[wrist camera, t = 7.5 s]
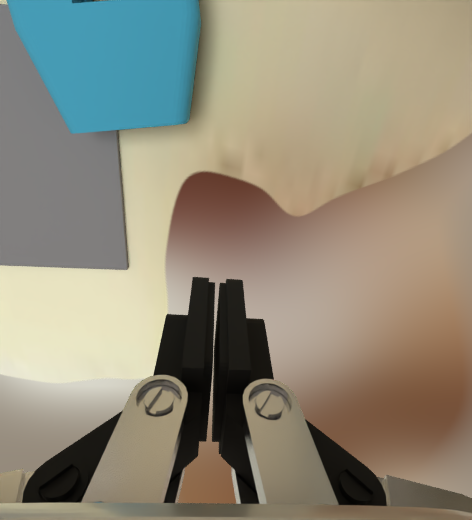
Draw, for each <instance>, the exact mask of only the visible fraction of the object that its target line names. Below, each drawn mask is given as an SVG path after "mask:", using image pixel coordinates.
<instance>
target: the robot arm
mask: <svg viewBox="0 0 472 520" xmlns="http://www.w3.org/2000/svg"><path fill="white" fill-rule="evenodd" d="M191 289H192V290H191V296H190V304H189V312H188V315H171V314H167V315H166V319H165V324H164V329H163V333H162V338H161V343H160V347H159V352H158V357H157V362H156V366H155V371H154V376H150V377H148V378H146V379H144V380H142V381H141V382H140V383H138V384H137V385H136V386H135V388H134V389H133V391H132V393H131V394H130V397H129V399H128V401H127V403H126V405H125V407H124V409H123V411H122V412H120V413H119V414H117V415H116V416H114V417H113V418H111V419H110V420H108V421H106V422H105V423H104V424H102V425H100V426H99V427H97V428H96V429H95V430H93V431H92V432H90V433H88V434H87V435H85V436H84V437H82V438H81V439H80V440H78V441H77V442H75V443H74V444H72V445H70V446H69V447H67V448H66V449H64V450H63V451H61V452H60V453H58V454H57V455H55V456H54V457H53V458H51V459H49V460H48V461H46V462H45V463H44V464H43V465H41V466H40V467H39V468H38V469H37V470H36V471H32V472H26V473H24V470H23V469H19V470H14V471H9V472H4V473H0V520H472V498H470V497H467V496H465V495H463V494H459V493H455V492H451V491H448V490H444V489H440V488H436V487H432V486H427V485H424V484H420V483H416V482H412V481H408V480H404V479H400V478H396V477H392V476H389V475H386V476H385V478H380V477H376V475H375V474H374V473H373V472H372V471H371V470H369V468H367V467H366V466H365V465H364V464H362V463H361V462H360V461H358V460H357V459H356V458H355V457H353V456H352V455H351V454H349V453H348V452H347V451H346V450H344V449H343V448H342V447H340V446H339V445H338V444H337V443H335V442H334V441H333V440H331V439H330V438H329V437H327V436H326V435H325V434H324V433H322V432H321V431H320V430H318V429H317V428H316V427H315V426H313V425H312V424H311V423H309V422H308V421H307V420H305V418H304V416H303V413H302V411H301V408H300V406H299V403H298V401H297V398H296V396H295V395H294V393H293V391H292V390H291V389H289V387H287V386H286V385H285V384H283V383H281V382H279V381H276V380H274V378H273V372H272V366H271V360H270V354H269V347H268V341H267V335H266V329H265V323H264V320H263V319H248V318H246V311H245V301H244V291H243V281H242V280H234V279H227V280H226V283H220V287H219V299H218V311H217V321H216V332H215V345H214V376H213V377H214V379H213V420H212V422H213V423H212V442H219V454H221V457H222V458H223V459H224V460H225V461H226V462H227V463H228V464H229V465H230V466H231V467H232V479H233V486H234V491H235V497H236V503H237V504H207V503H203V504H202V503H199V504H198V503H197V504H196V503H178V498H179V494H180V490H181V486H182V482H183V477H184V469H185V467H186V466H187V465H188V464H189V463H191V462H192V461H193V460H194V459H195V458H196V457H197V456H198V448H199V441H206V438H207V426H208V415H209V404H210V392H211V381H212V368H213V367H212V366H213V335H214V298H215V283H213V282H209V278H201V277H193V281H192V288H191Z"/></svg>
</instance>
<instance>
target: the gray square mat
mask: <svg viewBox="0 0 472 520" xmlns="http://www.w3.org/2000/svg"><path fill="white" fill-rule="evenodd" d="M0 265H7V266H34V267H61V268H88V269H115V270H127V269H128V254H127V242H126V229H125V216H124V203H123V191H122V178H121V165H120V153H119V140H118V130H111V131H99V132H88V133H75V134H72V133H70V131H69V129H68V127H67V125H66V123H65V121H64V120H63V118H62V116H61V114H60V112H59V110H58V108H57V107H56V105H55V103H54V101H53V99H52V97H51V95H50V93H49V92H48V90H47V88H46V86H45V84H44V82H43V80H42V78H41V77H40V75H39V73H38V71H37V69H36V67H35V65H34V64H33V62H32V60H31V58H30V56H29V54H28V52H27V50H26V49H25V47H24V45H23V43H22V41H21V39H20V37H19V35H18V34H17V32H16V30H15V27H14V24H13V20H12V17H11V14H10V10H9V7H8V5H5V4H0Z"/></svg>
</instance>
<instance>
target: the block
mask: <svg viewBox="0 0 472 520" xmlns="http://www.w3.org/2000/svg"><path fill="white" fill-rule="evenodd" d="M7 3H8V7H9V10H10V14H11V17H12V20H13V24H14V27H15V30H16V32H17V34H18V35H19V37H20V39H21V41H22V43H23V45H24V47H25V49H26V50H27V52H28V54H29V56H30V58H31V60H32V62H33V64H34V65H35V67H36V69H37V71H38V73H39V75H40V77H41V78H42V80H43V82H44V84H45V86H46V88H47V90H48V92H49V93H50V95H51V97H52V99H53V101H54V103H55V105H56V107H57V108H58V110H59V112H60V114H61V116H62V118H63V120H64V121H65V123H66V125H67V127H68V129H69V131H70V133H72V134H75V133H88V132H99V131H111V130H122V129H134V128H145V127H157V126H168V125H178V124H185V123H187V122H188V121H189V119H190V110H191V102H192V94H193V86H194V77H195V69H196V61H197V53H198V45H199V36H200V28H201V18H200V8H199V0H108V1H96V2H93V0H7Z"/></svg>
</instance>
